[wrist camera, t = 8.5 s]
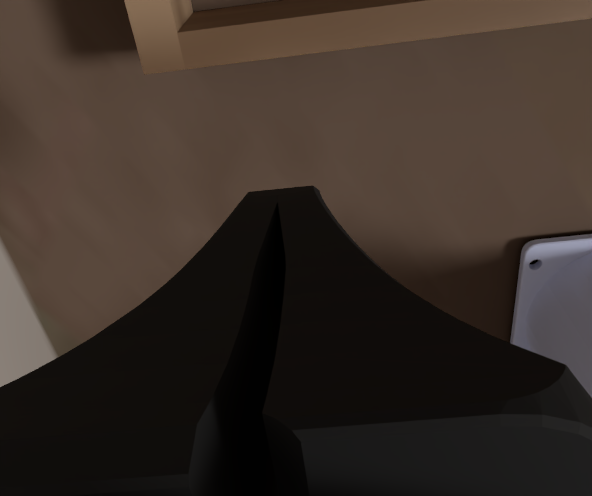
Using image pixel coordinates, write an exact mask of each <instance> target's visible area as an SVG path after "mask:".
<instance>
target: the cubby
mask: <svg viewBox="0 0 592 496" xmlns="http://www.w3.org/2000/svg"><path fill="white" fill-rule="evenodd" d="M124 1H125V5H126V9H127V12H128V16H129V20H130V24H131V27H132V31H133V35H134V39H135V42H136V46H137V50H138V53H139V57H140V61H141V65H142V68H143V72H144V75H145V74H153V73H161V72H169V71H176V70H184V69H192V68H200V67H208V66H216V65H224V64H232V63H240V62H248V61H256V60H264V59H272V58H280V57H288V56H296V55H304V54H312V53H320V52H328V51H336V50H344V49H352V48H360V47H368V46H376V45H383V44H391V43H399V42H407V41H415V40H423V39H431V38H439V37H447V36H455V35H463V34H471V33H479V32H487V31H495V30H503V29H511V28H519V27H527V26H535V25H543V24H551V23H559V22H567V21H575V20H583V19H590V18H592V0H281V1H273V2H265V3H258V4H250V5H243V6H235V7H228V8H220V9H212V10H205V11H197V12H193V8H192V3H191V0H124Z"/></svg>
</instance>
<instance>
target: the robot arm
mask: <svg viewBox="0 0 592 496" xmlns="http://www.w3.org/2000/svg"><path fill="white" fill-rule="evenodd" d="M536 259H538V261H537V262H536V263H535V264H532V265H531V264H530V262H532V261H533V260H536ZM0 496H592V234H585V235H575V236H565V237H556V238H546V239H536V240H532V241H529V242H528V243H526V244H525V245H524V246H523V248H522V251H521V259H520V267H519V275H518V283H517V291H516V299H515V307H514V315H513V323H512V332H511V340H510V343H508V342H506V341H503V340H500V339H498V338H496V337H494V336H491V335H489V334H487V333H485V332H483V331H481V330H479V329H477V328H475V327H473V326H471V325H468V324H466V323H464V322H462V321H460V320H458V319H456V318H455V317H453V316H451V315H449V314H447V313H445V312H444V311H442V310H440V309H438V308H437V307H435V306H433V305H432V304H430V303H429V302H427V301H425V300H424V299H422V298H420V297H419V296H417V295H416V294H414V293H412V292H411V291H409V290H408V289H407V288H405V287H404V286H402V285H401V284H400V283H399V282H397V281H396V280H395V279H394V278H392V277H391V276H390V275H389V274H387V273H386V272H385V271H384V270H383V269H382V268H380V267H379V266H378V265H377V264H376V263H375V262H374V261H373V260H372V259H371V258H370V257H369V256H368V255H367V254H366V253H365V252H364V251H363V250H362V249H361V248H360V247H359V246H358V245H357V244H356V243H355V242H354V241H353V240H352V239H351V237H350V236H349V235H348V234H347V233H346V231H345V230H344V229H343V228H342V226H341V225H340V224H339V223H338V222H337V220H336V219H335V217H334V216H333V215H332V213H331V212H330V210H329V209H328V207H327V206H326V204H325V202H324V201H323V199H322V197H321V194H320V191H319V190H318V189H317V188H315V187H314V186H304V187H294V188H284V189H274V190H264V191H254V192H248V193H247V195H246V196H245V197H244V198H243V199H242V200H241V202H240V203H239V204H238V205H237V207H236V208H235V209H234V211H233V212H232V213H231V214H230V216H229V217H228V218H227V219H226V221H225V222H224V223H223V224H222V226H221V227H220V228H219V229H218V230H217V232H216V233H215V234H214V235H213V236H212V237H211V239H210V240H209V241H208V242H207V243H206V244H205V246H204V247H203V248H202V249H201V250H200V251H199V252H198V253H197V254H196V255H195V256H194V257H193V258H192V259H191V260H190V261H189V262H188V263H187V264H186V265H185V266H184V267H183V268H182V269H181V270H180V271H179V272H178V273H177V274H176V275H175V276H174V277H173V278H172V279H170V280H169V281H168V282H167V283H166V284H165V285H164V286H162V287H161V288H160V289H159V290H157V291H156V292H155V293H154V294H153V295H151V296H150V297H149V298H148V299H146V300H145V301H144V302H143V303H141V304H140V305H139V306H137V307H136V308H135V309H133V310H132V311H130V312H129V313H127V314H126V315H124V316H123V317H122V318H120V319H119V320H117V321H116V322H114V323H113V324H111V325H110V326H108V327H107V328H105V329H104V330H103V331H101V332H100V333H98V334H97V335H95V336H94V337H92V338H90V339H89V340H87V341H86V342H84V343H82V344H81V345H79V346H77V347H75V348H74V349H72V350H70V351H69V352H67V353H65V354H64V355H62V356H60V357H58V358H56V359H55V360H53V361H51V362H49V363H47V364H45V365H44V366H42V367H40V368H38V369H36V370H34V371H32V372H30V373H28V374H27V375H25V376H23V377H21V378H19V379H17V380H15V381H13V382H10V383H8V384H6V385H4V386H2V387H0Z"/></svg>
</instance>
